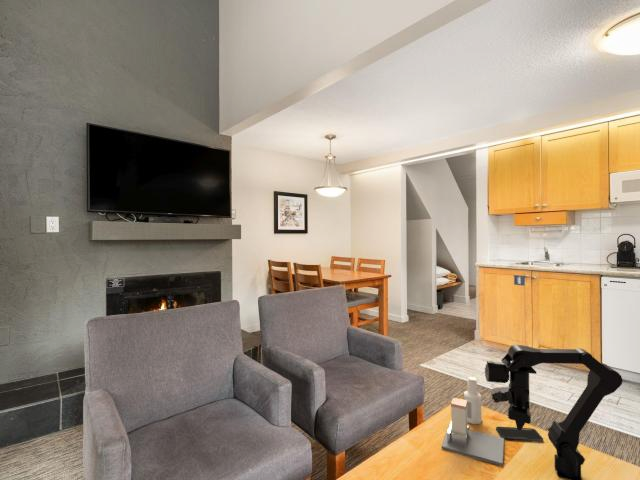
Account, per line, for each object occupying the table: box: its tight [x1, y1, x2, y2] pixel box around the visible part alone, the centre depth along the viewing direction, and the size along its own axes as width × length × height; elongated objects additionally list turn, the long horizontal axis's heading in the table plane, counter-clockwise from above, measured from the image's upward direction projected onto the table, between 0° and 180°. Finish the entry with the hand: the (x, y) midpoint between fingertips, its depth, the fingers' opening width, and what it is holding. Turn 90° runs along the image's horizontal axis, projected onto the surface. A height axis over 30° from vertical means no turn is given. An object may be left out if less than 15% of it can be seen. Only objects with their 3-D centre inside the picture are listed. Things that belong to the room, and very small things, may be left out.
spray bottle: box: [463, 376, 482, 425], centre depth 145 cm, size 7×7×18 cm
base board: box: [441, 424, 505, 467], centre depth 129 cm, size 20×16×1 cm
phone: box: [495, 426, 544, 443], centre depth 134 cm, size 8×1×15 cm
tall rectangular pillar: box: [450, 397, 468, 435], centre depth 131 cm, size 5×5×14 cm
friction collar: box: [446, 422, 470, 447], centre depth 131 cm, size 7×9×4 cm
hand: (519, 429), depth 116 cm, fingers closed
